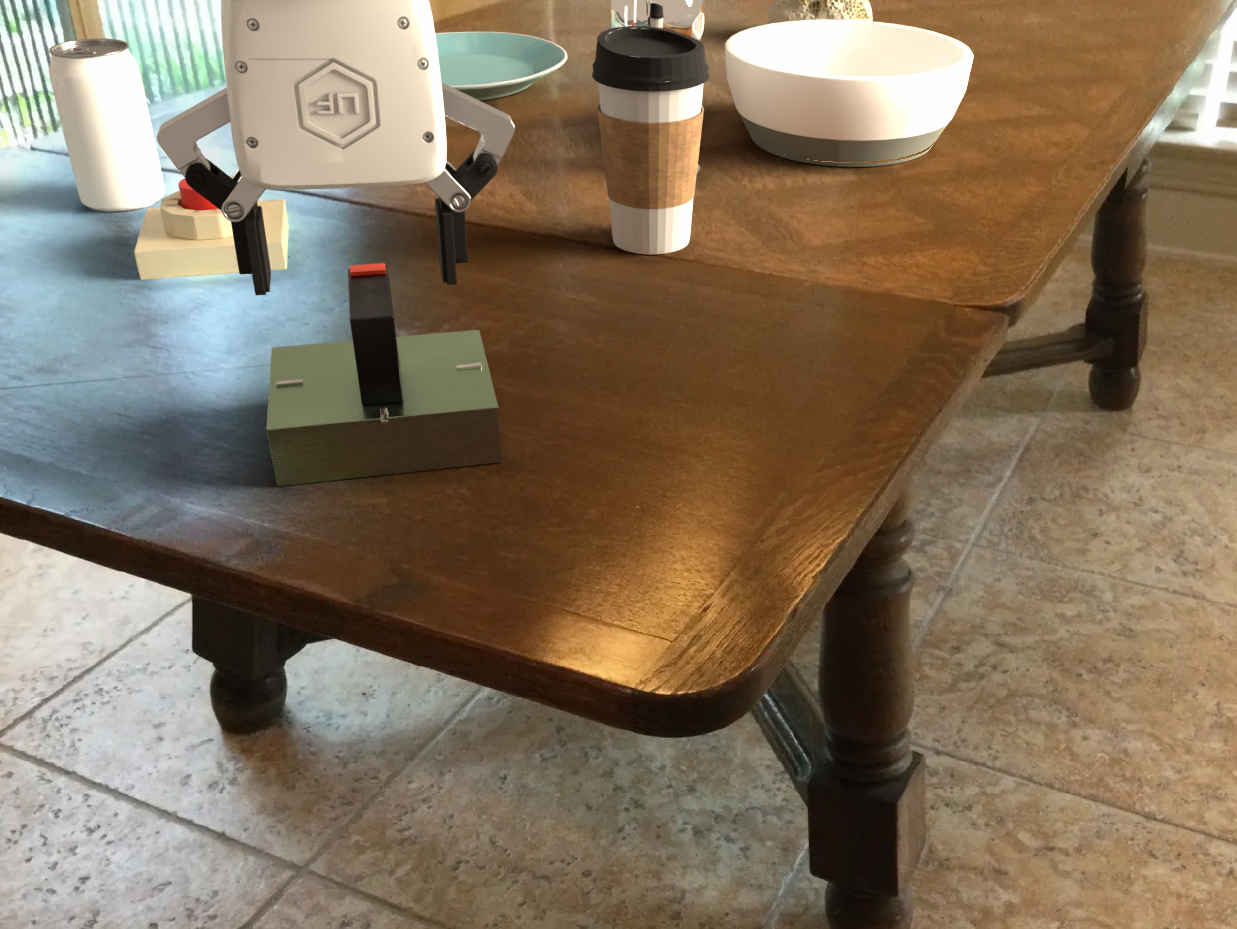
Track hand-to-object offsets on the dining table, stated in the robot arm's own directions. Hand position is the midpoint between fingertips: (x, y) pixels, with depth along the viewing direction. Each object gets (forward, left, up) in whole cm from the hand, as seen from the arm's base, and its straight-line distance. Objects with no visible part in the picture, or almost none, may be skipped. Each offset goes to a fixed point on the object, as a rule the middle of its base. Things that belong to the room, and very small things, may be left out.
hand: (357, 280), depth 70 cm
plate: (+12, +74, -9) cm, 75 cm away
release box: (-10, +30, -9) cm, 33 cm away
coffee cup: (+22, +26, -9) cm, 35 cm away
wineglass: (+26, +42, -9) cm, 50 cm away
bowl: (+45, +48, -9) cm, 66 cm away
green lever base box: (+1, 0, -9) cm, 9 cm away
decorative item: (+55, +85, -9) cm, 101 cm away
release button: (-10, +30, -6) cm, 32 cm away
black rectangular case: (+1, 0, -6) cm, 6 cm away
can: (-18, +43, -9) cm, 48 cm away
